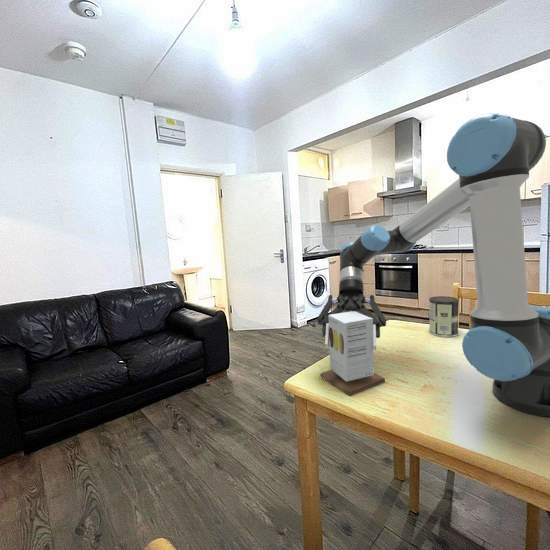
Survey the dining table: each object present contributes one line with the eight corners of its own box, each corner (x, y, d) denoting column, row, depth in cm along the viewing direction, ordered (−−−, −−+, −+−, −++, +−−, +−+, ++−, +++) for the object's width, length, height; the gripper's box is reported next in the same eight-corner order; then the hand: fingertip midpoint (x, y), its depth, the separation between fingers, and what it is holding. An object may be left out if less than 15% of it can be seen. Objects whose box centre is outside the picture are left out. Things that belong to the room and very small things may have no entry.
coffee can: (449, 328, 126) (449, 295, 124) (464, 336, 116) (464, 300, 114) (424, 329, 126) (424, 296, 124) (437, 338, 116) (437, 302, 114)
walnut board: (385, 382, 85) (384, 378, 85) (350, 396, 79) (350, 391, 79) (353, 365, 97) (352, 362, 97) (320, 377, 91) (320, 373, 90)
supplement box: (329, 368, 91) (327, 314, 88) (355, 362, 93) (354, 310, 91) (346, 382, 82) (344, 322, 79) (375, 375, 84) (373, 317, 82)
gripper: (391, 290, 96) (396, 354, 83) (314, 290, 103) (309, 349, 91) (392, 276, 90) (398, 343, 78) (311, 278, 97) (305, 339, 85)
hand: (350, 346), depth 84 cm, fingers closed on supplement box, 12 cm apart
